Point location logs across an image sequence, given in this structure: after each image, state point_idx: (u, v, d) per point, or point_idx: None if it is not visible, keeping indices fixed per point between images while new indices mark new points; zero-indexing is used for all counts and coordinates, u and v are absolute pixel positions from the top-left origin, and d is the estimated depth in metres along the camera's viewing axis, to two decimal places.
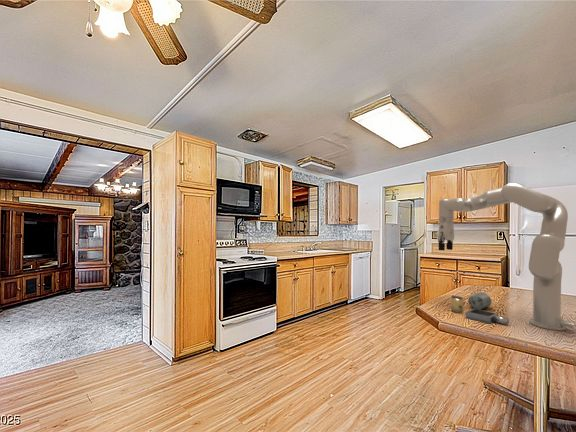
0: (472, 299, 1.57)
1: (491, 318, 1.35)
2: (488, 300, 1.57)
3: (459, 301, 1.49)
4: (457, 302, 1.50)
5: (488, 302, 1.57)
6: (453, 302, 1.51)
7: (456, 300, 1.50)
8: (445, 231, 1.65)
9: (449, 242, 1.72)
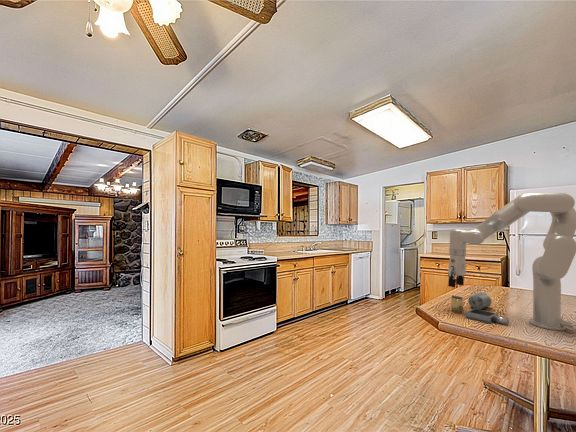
0: (472, 299, 1.57)
1: (491, 318, 1.35)
2: (488, 300, 1.57)
3: (459, 301, 1.49)
4: (457, 302, 1.50)
5: (488, 302, 1.57)
6: (453, 302, 1.51)
7: (456, 300, 1.50)
8: (456, 266, 1.48)
9: (460, 276, 1.55)
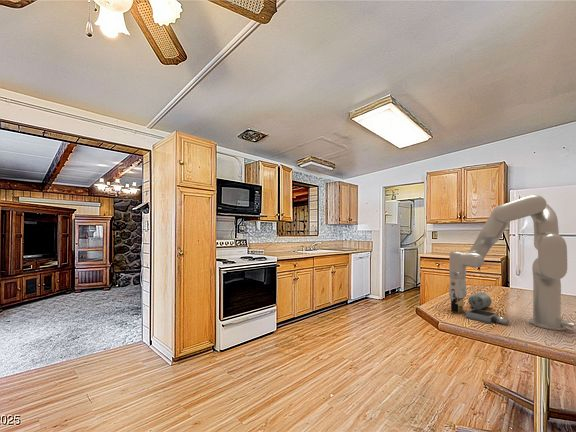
0: (472, 299, 1.57)
1: (491, 318, 1.35)
2: (488, 300, 1.57)
3: (459, 301, 1.49)
4: (457, 302, 1.50)
5: (488, 302, 1.57)
6: None
7: None
8: (457, 289, 1.48)
9: None
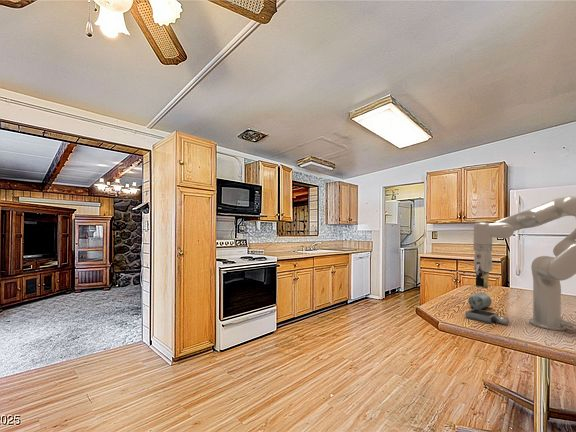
0: (472, 299, 1.57)
1: (491, 318, 1.35)
2: (488, 300, 1.57)
3: (485, 275, 1.39)
4: None
5: (488, 302, 1.57)
6: None
7: None
8: (483, 262, 1.37)
9: None
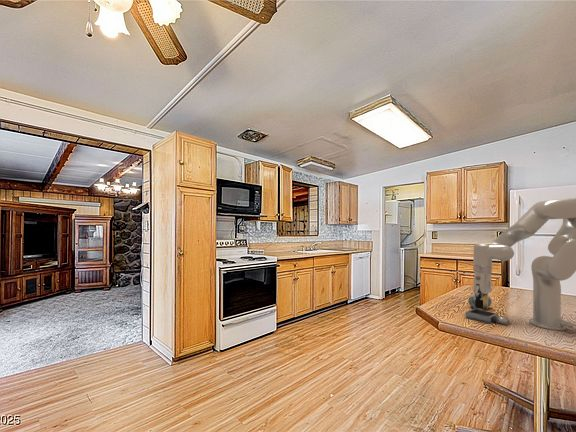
0: (472, 299, 1.57)
1: (491, 318, 1.35)
2: (488, 300, 1.57)
3: (484, 297, 1.39)
4: (482, 298, 1.39)
5: (488, 302, 1.57)
6: None
7: None
8: (482, 284, 1.37)
9: None
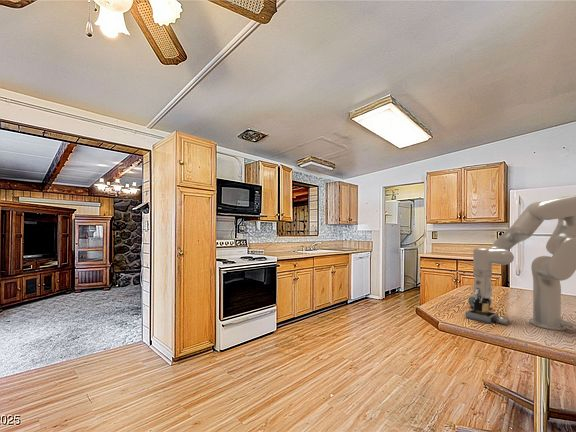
0: (472, 299, 1.57)
1: (491, 318, 1.35)
2: None
3: (485, 305, 1.39)
4: (482, 306, 1.39)
5: None
6: None
7: None
8: (483, 288, 1.37)
9: (485, 299, 1.44)
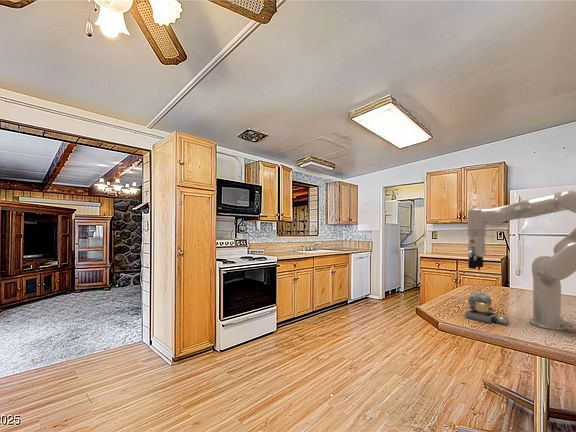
0: (472, 299, 1.57)
1: (491, 318, 1.35)
2: (488, 300, 1.57)
3: (485, 305, 1.39)
4: (482, 306, 1.39)
5: (488, 302, 1.57)
6: (478, 306, 1.40)
7: (481, 304, 1.39)
8: (477, 246, 1.41)
9: (479, 258, 1.48)
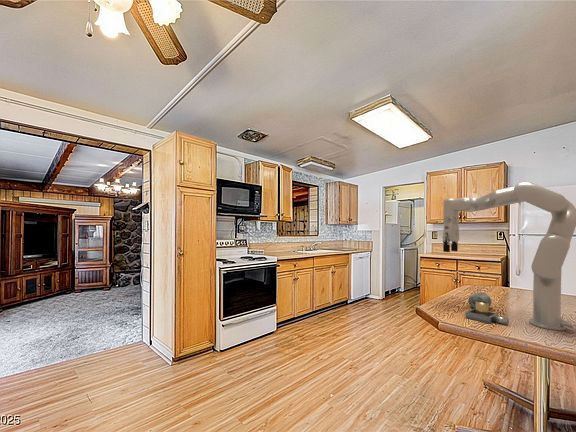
0: (472, 299, 1.57)
1: (491, 318, 1.35)
2: (488, 300, 1.57)
3: (485, 305, 1.39)
4: (482, 306, 1.39)
5: (488, 302, 1.57)
6: (478, 306, 1.40)
7: (481, 304, 1.39)
8: (450, 232, 1.59)
9: (454, 243, 1.66)
